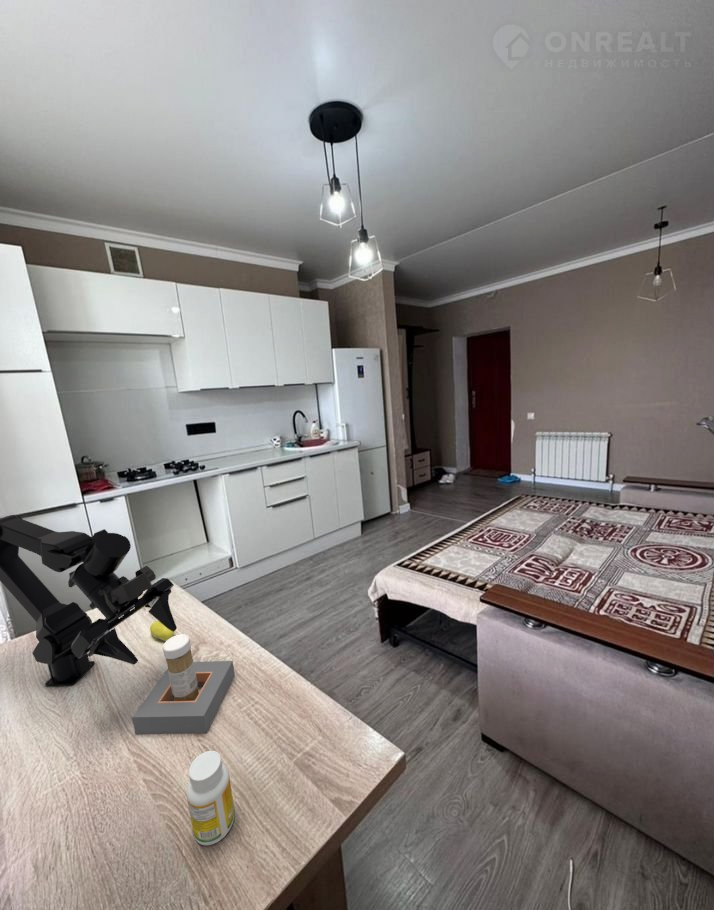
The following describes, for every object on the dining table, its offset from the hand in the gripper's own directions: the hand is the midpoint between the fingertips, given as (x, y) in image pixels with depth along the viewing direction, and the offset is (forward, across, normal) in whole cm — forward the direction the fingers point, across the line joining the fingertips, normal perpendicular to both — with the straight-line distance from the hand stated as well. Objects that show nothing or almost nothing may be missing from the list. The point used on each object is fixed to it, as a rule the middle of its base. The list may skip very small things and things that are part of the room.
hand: (157, 645), depth 71 cm
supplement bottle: (+25, -16, -9) cm, 31 cm away
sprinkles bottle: (+12, 0, +4) cm, 13 cm away
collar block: (+12, 0, +4) cm, 13 cm away
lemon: (-3, +15, +20) cm, 25 cm away
